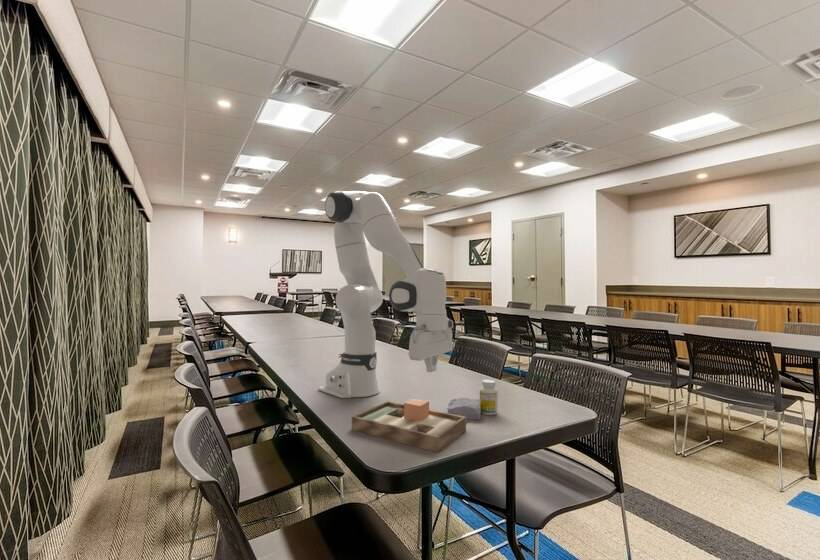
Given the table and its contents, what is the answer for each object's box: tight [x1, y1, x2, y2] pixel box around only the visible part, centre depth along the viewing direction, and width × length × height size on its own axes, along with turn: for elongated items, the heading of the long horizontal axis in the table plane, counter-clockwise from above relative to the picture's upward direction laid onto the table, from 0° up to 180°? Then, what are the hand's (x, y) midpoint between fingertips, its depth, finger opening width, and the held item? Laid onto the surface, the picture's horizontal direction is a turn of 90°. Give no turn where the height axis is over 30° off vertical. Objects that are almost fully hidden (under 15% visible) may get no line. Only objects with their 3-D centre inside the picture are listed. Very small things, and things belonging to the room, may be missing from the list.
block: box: [403, 398, 430, 421], centre depth 105 cm, size 5×5×4 cm
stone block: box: [446, 397, 482, 421], centre depth 116 cm, size 12×5×10 cm
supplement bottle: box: [479, 379, 499, 416], centre depth 117 cm, size 5×5×10 cm
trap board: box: [351, 400, 467, 453], centre depth 102 cm, size 26×17×3 cm, turn 59°
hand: (431, 371), depth 111 cm, fingers closed
